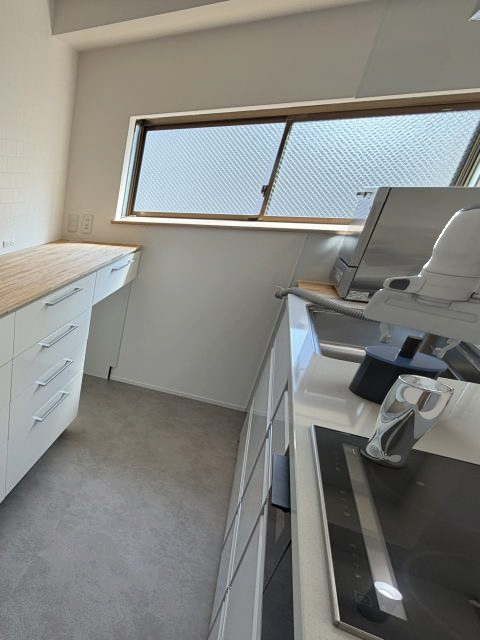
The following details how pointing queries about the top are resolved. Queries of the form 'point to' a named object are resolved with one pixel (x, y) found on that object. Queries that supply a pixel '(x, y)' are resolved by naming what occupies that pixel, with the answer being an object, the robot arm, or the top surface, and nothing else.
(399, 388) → the beer glass
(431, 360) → the lid
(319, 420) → the top surface
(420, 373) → the pot
